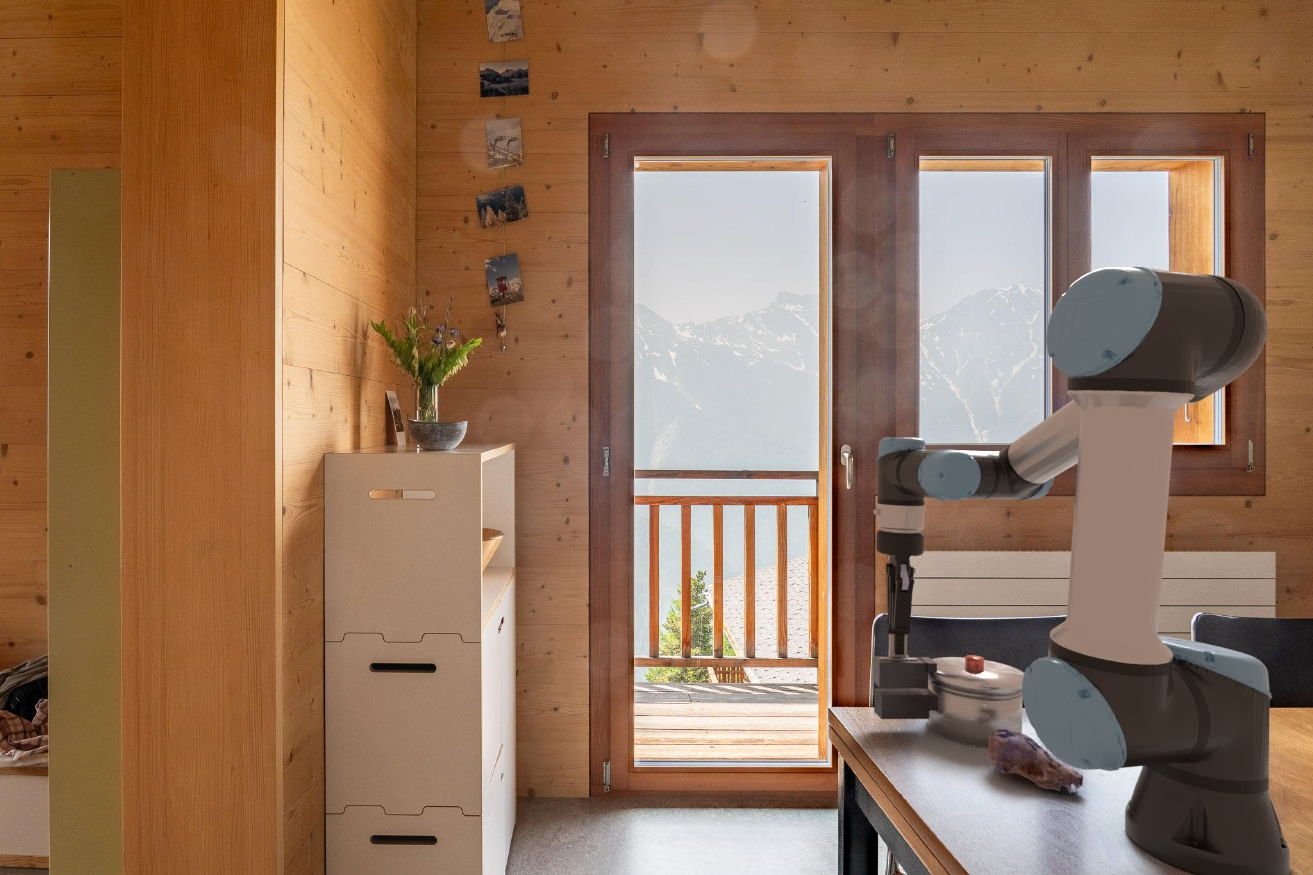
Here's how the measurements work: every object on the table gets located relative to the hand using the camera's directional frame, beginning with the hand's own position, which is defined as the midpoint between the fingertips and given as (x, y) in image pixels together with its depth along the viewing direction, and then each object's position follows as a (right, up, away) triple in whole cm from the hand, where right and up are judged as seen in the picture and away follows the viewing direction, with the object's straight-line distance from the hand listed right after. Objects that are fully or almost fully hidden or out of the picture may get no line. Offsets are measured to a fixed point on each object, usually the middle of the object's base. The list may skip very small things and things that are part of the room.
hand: (897, 672), depth 123 cm
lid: (+7, -1, -3) cm, 8 cm away
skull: (+12, -9, -21) cm, 26 cm away
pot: (+7, -9, -3) cm, 12 cm away
